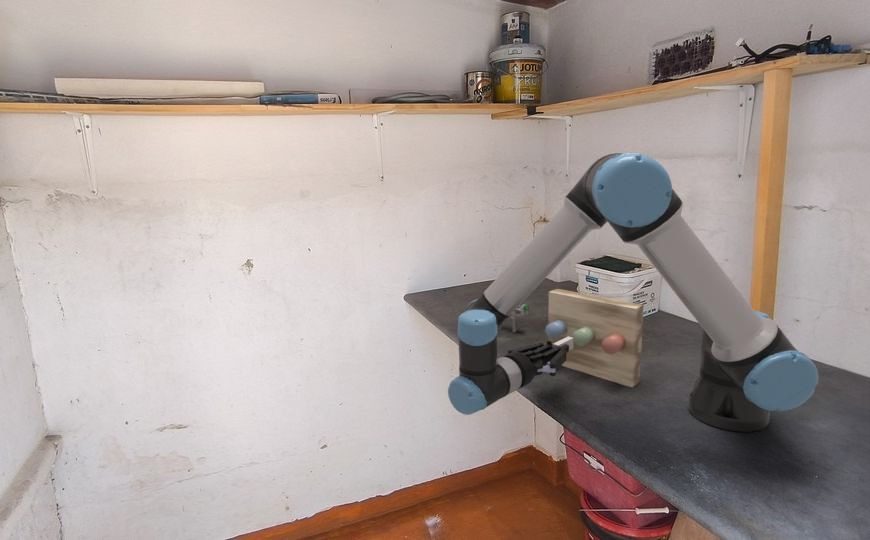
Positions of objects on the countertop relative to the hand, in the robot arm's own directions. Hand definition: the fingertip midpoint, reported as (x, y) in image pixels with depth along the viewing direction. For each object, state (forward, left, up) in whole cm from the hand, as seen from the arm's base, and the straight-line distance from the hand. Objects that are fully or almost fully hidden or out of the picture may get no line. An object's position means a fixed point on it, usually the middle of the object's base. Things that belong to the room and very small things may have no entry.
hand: (570, 342), depth 122 cm
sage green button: (+3, -5, -2) cm, 6 cm away
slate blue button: (+10, -1, -2) cm, 10 cm away
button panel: (+5, -9, -11) cm, 15 cm away
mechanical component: (+40, -2, -11) cm, 42 cm away
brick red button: (-4, -9, -2) cm, 10 cm away
